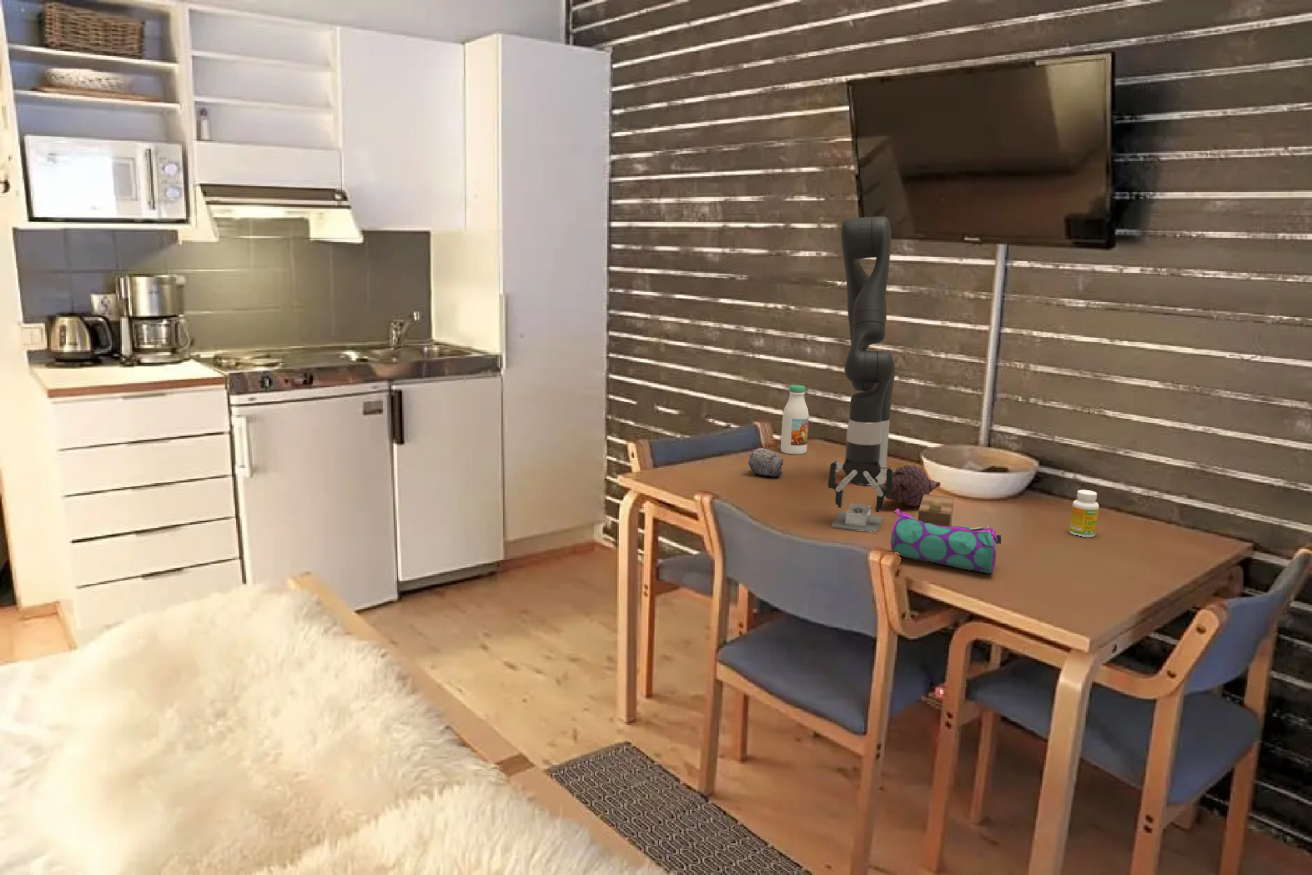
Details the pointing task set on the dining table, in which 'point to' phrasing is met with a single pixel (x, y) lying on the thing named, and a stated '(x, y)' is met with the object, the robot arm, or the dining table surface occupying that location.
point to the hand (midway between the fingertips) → (858, 509)
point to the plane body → (936, 510)
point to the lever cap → (858, 515)
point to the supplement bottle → (1084, 514)
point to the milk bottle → (795, 422)
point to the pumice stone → (765, 462)
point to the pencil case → (945, 543)
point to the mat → (840, 523)
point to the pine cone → (910, 485)
